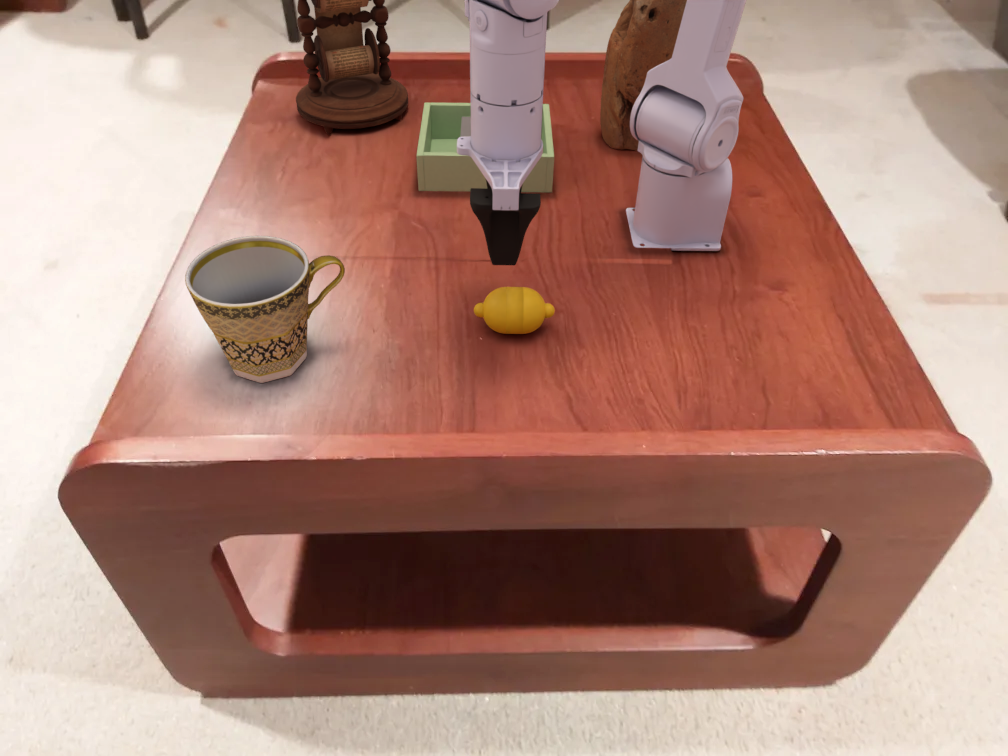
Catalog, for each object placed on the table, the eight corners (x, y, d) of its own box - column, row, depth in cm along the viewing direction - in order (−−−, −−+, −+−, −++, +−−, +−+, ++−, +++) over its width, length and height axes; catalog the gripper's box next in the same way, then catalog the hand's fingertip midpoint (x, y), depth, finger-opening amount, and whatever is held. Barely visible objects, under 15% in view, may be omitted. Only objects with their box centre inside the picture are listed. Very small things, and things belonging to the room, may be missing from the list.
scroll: (389, 83, 118) (377, -70, 104) (424, 127, 108) (415, -35, 95) (287, 100, 114) (260, -58, 100) (314, 147, 104) (288, -20, 90)
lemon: (552, 314, 80) (554, 277, 77) (554, 343, 77) (557, 306, 74) (474, 313, 80) (473, 276, 77) (473, 343, 77) (472, 306, 74)
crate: (547, 141, 106) (549, 103, 102) (551, 196, 96) (554, 156, 93) (426, 140, 106) (424, 102, 102) (418, 195, 96) (416, 155, 92)
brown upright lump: (669, 125, 110) (695, -35, 96) (691, 151, 105) (722, -14, 91) (592, 132, 108) (607, -30, 94) (610, 159, 103) (629, -8, 89)
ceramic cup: (222, 409, 70) (194, 318, 63) (204, 339, 77) (176, 249, 70) (369, 369, 74) (357, 279, 67) (340, 306, 80) (326, 218, 74)
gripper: (459, 53, 69) (462, 194, 78) (451, 133, 59) (455, 286, 68) (542, 54, 69) (535, 196, 79) (549, 134, 59) (540, 287, 68)
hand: (504, 238), depth 73 cm, fingers open, 7 cm apart
